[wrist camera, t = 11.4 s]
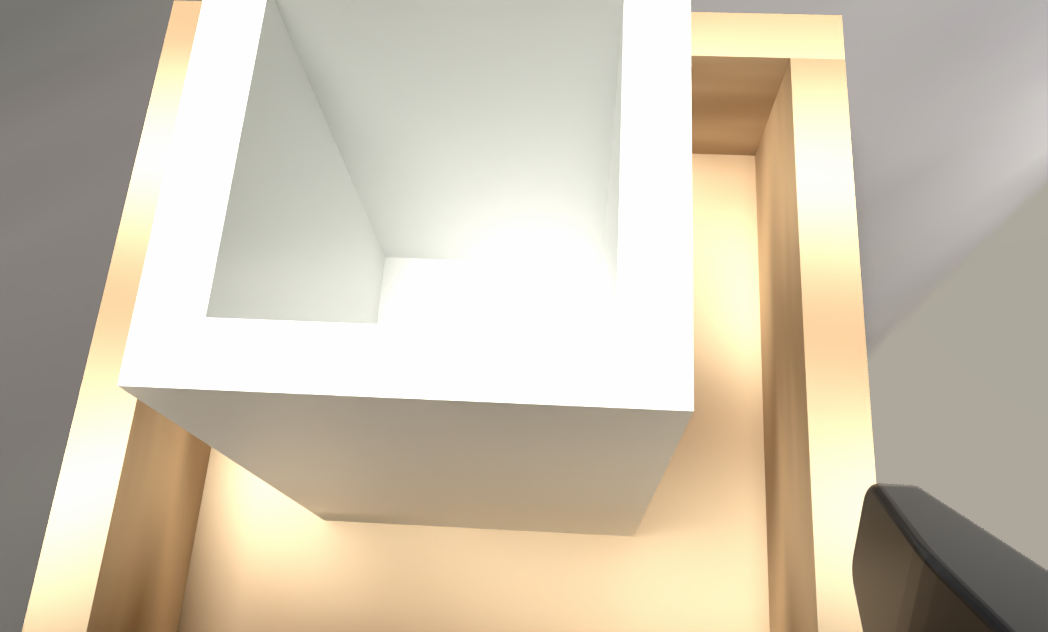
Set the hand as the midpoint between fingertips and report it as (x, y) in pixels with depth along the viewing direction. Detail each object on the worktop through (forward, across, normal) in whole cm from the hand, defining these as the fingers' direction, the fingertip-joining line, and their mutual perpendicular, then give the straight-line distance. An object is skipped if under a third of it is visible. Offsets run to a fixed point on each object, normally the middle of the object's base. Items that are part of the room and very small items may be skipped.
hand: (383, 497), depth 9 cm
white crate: (+10, 0, +4) cm, 10 cm away
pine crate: (+10, 0, +4) cm, 11 cm away
